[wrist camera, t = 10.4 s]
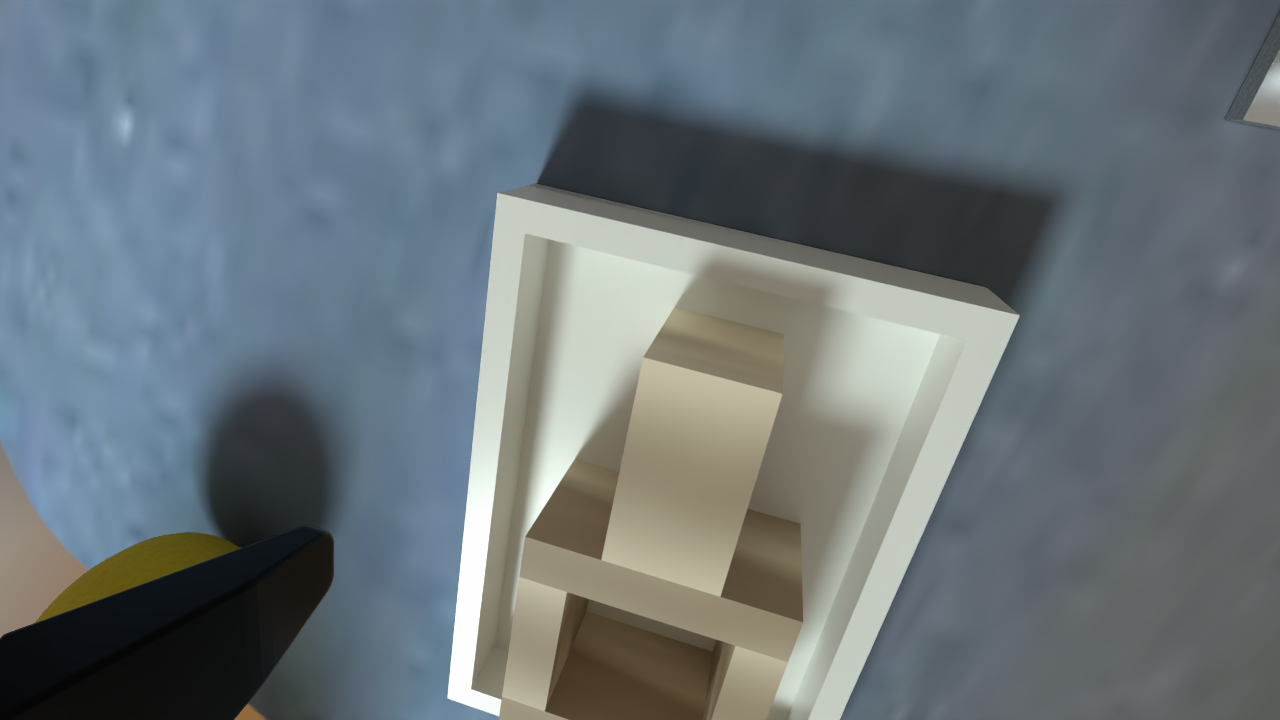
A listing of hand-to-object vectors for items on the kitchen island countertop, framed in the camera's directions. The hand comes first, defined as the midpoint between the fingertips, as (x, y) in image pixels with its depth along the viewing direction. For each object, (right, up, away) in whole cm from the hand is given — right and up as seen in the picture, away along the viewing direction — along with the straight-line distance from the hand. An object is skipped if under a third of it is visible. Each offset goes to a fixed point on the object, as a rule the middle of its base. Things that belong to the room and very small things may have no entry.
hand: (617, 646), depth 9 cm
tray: (+2, 0, +11) cm, 11 cm away
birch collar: (+1, -1, +10) cm, 11 cm away
